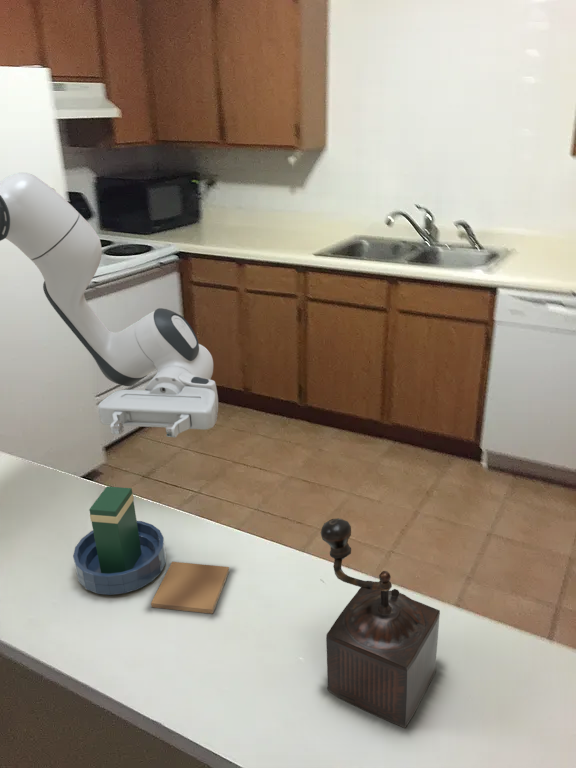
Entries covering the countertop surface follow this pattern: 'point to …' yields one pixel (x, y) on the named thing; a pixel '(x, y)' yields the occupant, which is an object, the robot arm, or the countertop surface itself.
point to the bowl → (128, 580)
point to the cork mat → (191, 587)
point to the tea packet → (115, 530)
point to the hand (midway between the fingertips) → (142, 431)
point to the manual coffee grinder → (379, 642)
